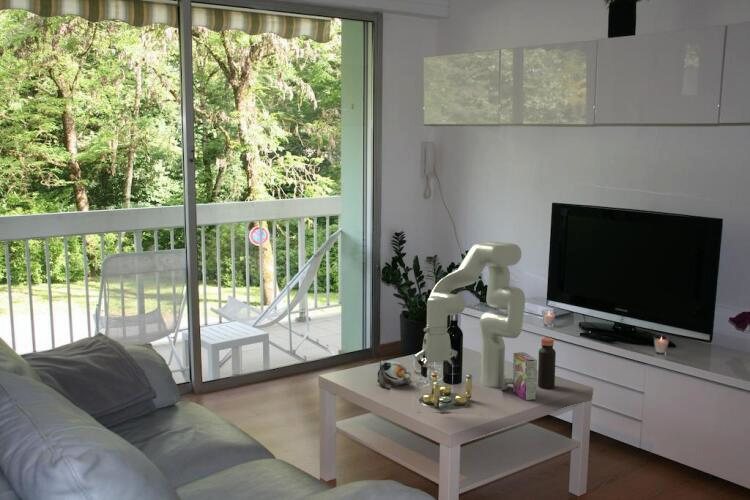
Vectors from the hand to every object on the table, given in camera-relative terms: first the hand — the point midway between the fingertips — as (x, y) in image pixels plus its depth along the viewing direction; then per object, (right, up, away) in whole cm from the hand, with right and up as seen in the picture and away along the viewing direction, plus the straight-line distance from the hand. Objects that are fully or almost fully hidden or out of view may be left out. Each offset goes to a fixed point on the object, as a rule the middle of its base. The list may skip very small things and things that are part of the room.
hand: (435, 375), depth 289 cm
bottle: (+48, -10, +32) cm, 58 cm away
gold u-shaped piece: (+3, -10, +16) cm, 19 cm away
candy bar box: (+37, -12, +20) cm, 43 cm away
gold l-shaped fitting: (-1, -12, +5) cm, 13 cm away
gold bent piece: (+11, -11, +8) cm, 18 cm away
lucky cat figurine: (-14, -10, +34) cm, 38 cm away
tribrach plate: (+4, -13, +11) cm, 17 cm away
